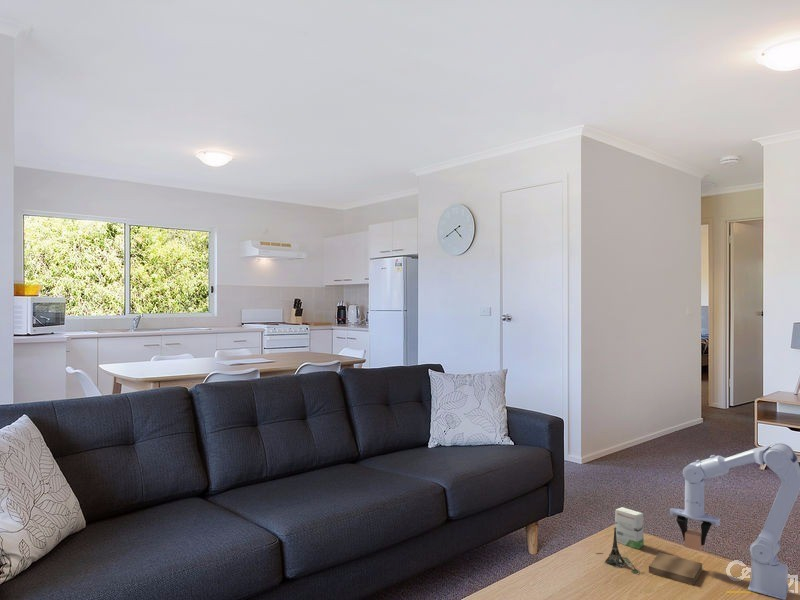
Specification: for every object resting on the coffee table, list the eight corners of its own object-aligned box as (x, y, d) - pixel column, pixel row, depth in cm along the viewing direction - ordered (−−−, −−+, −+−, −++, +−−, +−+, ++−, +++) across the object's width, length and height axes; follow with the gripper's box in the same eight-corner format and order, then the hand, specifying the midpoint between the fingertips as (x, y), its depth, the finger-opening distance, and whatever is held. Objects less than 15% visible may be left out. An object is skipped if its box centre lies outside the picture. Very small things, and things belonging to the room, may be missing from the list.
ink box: (644, 546, 204) (644, 512, 204) (637, 549, 201) (637, 516, 201) (621, 538, 211) (621, 505, 211) (614, 541, 207) (614, 508, 207)
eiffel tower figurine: (640, 576, 183) (641, 534, 183) (608, 575, 183) (608, 533, 183) (624, 555, 198) (624, 516, 198) (594, 554, 198) (594, 515, 198)
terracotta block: (703, 546, 188) (703, 532, 187) (700, 550, 184) (700, 536, 184) (688, 542, 190) (688, 528, 190) (684, 546, 187) (684, 533, 187)
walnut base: (702, 569, 186) (702, 563, 186) (693, 585, 176) (693, 578, 176) (659, 558, 194) (659, 552, 194) (648, 572, 184) (648, 566, 184)
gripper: (722, 502, 186) (721, 544, 186) (673, 492, 195) (673, 532, 195) (717, 508, 180) (717, 551, 180) (668, 497, 189) (667, 539, 189)
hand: (694, 542), depth 187 cm, fingers closed on terracotta block, 5 cm apart
